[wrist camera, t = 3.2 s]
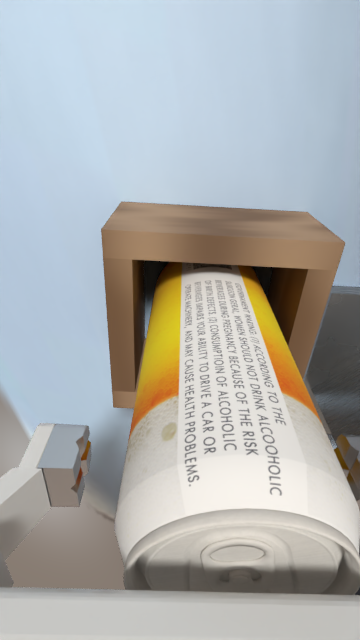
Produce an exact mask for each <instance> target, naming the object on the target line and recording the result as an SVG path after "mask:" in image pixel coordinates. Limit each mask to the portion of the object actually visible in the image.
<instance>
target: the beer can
mask: <svg viewBox="0 0 360 640" xmlns="http://www.w3.org/2000/svg"><path fill="white" fill-rule="evenodd" d="M114 528H115V534H116V538H117V542H118V545H119V549H120V553H121V556H122V560H123V564H124V567H125V569H124V586H125V590H155V591H199V592H242V593H285V594H327V595H355V593H356V592H357V591H358V589H359V587H360V557H359V536H360V511H359V507H358V504H357V502H356V499H355V497H354V495H353V493H352V490H351V488H350V486H349V483H348V481H347V479H346V477H345V474H344V472H343V470H342V468H341V465H340V463H339V461H338V459H337V456H336V454H335V452H334V449H333V447H332V445H331V443H330V440H329V438H328V436H327V434H326V431H325V429H324V427H323V425H322V422H321V420H320V418H319V415H318V413H317V411H316V409H315V406H314V404H313V402H312V400H311V397H310V395H309V393H308V391H307V388H306V386H305V384H304V382H303V379H302V377H301V375H300V372H299V370H298V368H297V366H296V363H295V361H294V359H293V357H292V354H291V352H290V350H289V348H288V345H287V343H286V341H285V338H284V336H283V334H282V332H281V329H280V327H279V325H278V323H277V320H276V318H275V316H274V314H273V311H272V309H271V307H270V304H269V302H268V300H267V298H266V295H265V293H264V291H263V289H262V286H261V284H260V282H259V280H258V277H257V275H256V273H255V271H254V269H253V268H252V266H244V265H226V264H207V263H188V262H169V263H168V264H167V265H166V266H165V267H164V268H163V270H162V271H161V273H160V275H159V277H158V279H157V282H156V286H155V292H154V297H153V303H152V309H151V315H150V320H149V326H148V332H147V338H146V343H145V349H144V355H143V361H142V366H141V372H140V378H139V384H138V389H137V395H136V401H135V407H134V412H133V418H132V424H131V430H130V435H129V441H128V447H127V453H126V458H125V464H124V470H123V476H122V481H121V487H120V493H119V499H118V504H117V510H116V516H115V522H114Z"/></svg>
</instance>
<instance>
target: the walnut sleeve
mask: <svg viewBox="0 0 360 640" xmlns="http://www.w3.org/2000/svg"><path fill="white" fill-rule="evenodd" d="M101 233H102V247H103V262H104V277H105V291H106V306H107V321H108V335H109V350H110V365H111V379H112V394H113V407H116V408H134V407H135V401H136V395H137V389H138V384H139V378H140V372H141V366H142V361H143V355H144V349H145V343H146V339H145V277H144V260H151V261H170V262H188V263H207V264H226V265H244V266H263V267H273V270H272V275H271V280H270V285H269V290H268V295H267V300H268V302H269V304H270V307H271V309H272V311H273V314H274V316H275V318H276V320H277V323H278V325H279V327H280V329H281V332H282V334H283V336H284V338H285V341H286V343H287V345H288V348H289V350H290V352H291V354H292V357H293V359H294V361H295V363H296V366H297V368H298V370H299V372H300V375H301V377H302V379H303V378H304V375H305V371H306V368H307V365H308V362H309V359H310V355H311V352H312V349H313V346H314V342H315V339H316V336H317V333H318V329H319V326H320V323H321V320H322V317H323V313H324V310H325V307H326V304H327V300H328V297H329V294H330V291H331V288H332V284H333V281H334V278H335V275H336V271H337V268H338V265H339V262H340V259H341V255H342V252H343V249H344V246H345V242H344V241H343V240H341V239H340V238H339V237H338V236H336V235H335V234H334V233H333V232H331V231H330V230H329V229H328V228H327V227H325V226H324V225H323V224H322V223H320V222H319V221H318V220H317V219H315V218H314V217H313V216H312V215H310V214H309V213H308V212H296V211H278V210H261V209H243V208H225V207H207V206H189V205H171V204H153V203H136V202H121V203H120V204H119V206H118V207H117V208H116V210H115V211H114V213H113V214H112V215H111V217H110V218H109V219H108V221H107V222H106V224H105V225H104V226H103V228H102V229H101Z"/></svg>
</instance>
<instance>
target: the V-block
mask: <svg viewBox="0 0 360 640" xmlns="http://www.w3.org/2000/svg"><path fill="white" fill-rule="evenodd" d="M303 382H304V384H305V386H306V388H307V391H308V393H309V395H310V397H311V400H312V402H313V404H314V406H315V409H316V411H317V413H318V415H319V418H320V420H321V422H322V425H323V427H324V429H325V431H326V434H332V436H333V438H334V440H335V442H336V440H337V438H338V436H340V435H341V434H349V435H360V287H344V286H332V288H331V291H330V294H329V297H328V300H327V304H326V307H325V310H324V313H323V317H322V320H321V323H320V326H319V329H318V333H317V336H316V339H315V342H314V346H313V349H312V352H311V355H310V359H309V362H308V365H307V368H306V371H305V375H304V378H303ZM336 445H337V444H336ZM337 447H338V446H337Z"/></svg>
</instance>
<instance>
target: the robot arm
mask: <svg viewBox="0 0 360 640" xmlns="http://www.w3.org/2000/svg"><path fill="white" fill-rule="evenodd" d="M89 434H90V431H89V426H87V425H71V424H52V423H40V424H39V425H38V426H37V427H36V430H35V432H34V434H33V436H32V438H31V440H30V442H29V445H28V447H27V450H26V451H25V453H24V456H23V458H22V460H21V462H20V464H19V466H18V468H12V469H11V470H9V471H8V472H7V473H6V474H4V475H3V476H2V477H1V478H0V640H360V595H327V594H285V593H242V592H199V591H155V590H111V589H109V590H108V589H67V588H23V587H12V586H13V580H12V578H11V575H10V572H9V570H8V567H7V565H6V562H5V560H6V559H7V558H8V557H9V555H10V554H11V553H12V552H13V551H14V550H15V549H16V548H17V546H18V545H19V544H20V543H21V542H22V541H23V540H24V539H25V537H26V536H27V535H28V534H29V533H30V532H31V531H32V529H33V528H34V527H35V526H36V525H37V524H38V523H39V522H40V520H41V519H42V518H43V517H44V516H45V515H46V514H47V512H48V511H49V510H50V509H51V507H79V506H80V502H81V498H82V494H83V490H84V487H85V485H84V478H83V477H84V476H85V475H86V474H87V473H88V471H89V467H90V461H91V442H90V441H88V438H89ZM336 444H337V446H338V447H337V448H336V449H334V452H335V454H336V456H337V459H338V461H339V463H340V465H341V468H342V470H343V472H344V474H345V477H346V479H347V481H348V483H349V486H350V488H351V490H352V493H353V495H354V497H355V499H356V502H357V504H358V507H359V511H360V435H349V434H341V435H340V436H338V438H337V440H336Z"/></svg>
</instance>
